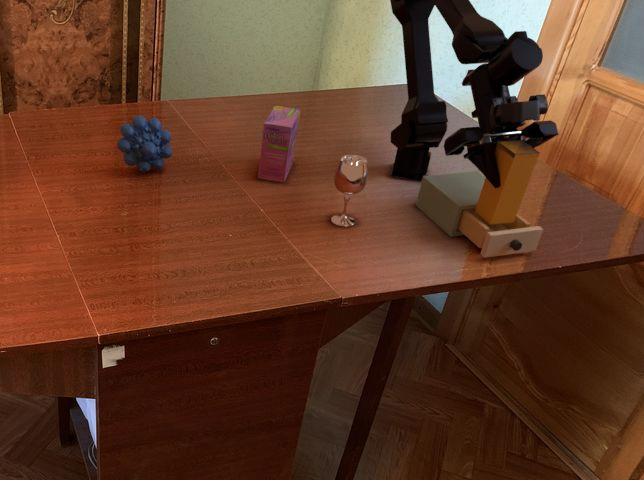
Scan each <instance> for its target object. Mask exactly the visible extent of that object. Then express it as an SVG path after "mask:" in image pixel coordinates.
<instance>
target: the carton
mask: <svg viewBox="0 0 644 480" xmlns="http://www.w3.org/2000/svg"><path fill="white" fill-rule="evenodd" d="M540 154H541V152H540V151H539V150H537V149H535V148H533V147H531V146H530V145H528V144H527V143H525V142H524V141H503V142H498V143H497V147H496V152H495V156H496V161H497V166H498V171H499V175H500V184H501V186H500V187H498V188H494V186H493V185H492V184H491V183H490V182H489V181H488V179H487V178H486V177H485V178H486V179H485V182H484V185H483V188H482V190H481V193H480V196H479V199H478V202H477V205H476V208H475V212H476V213H477V214H478V215H480V216H481V217H482V218H483V219H484V220H485V221H487V222H488V223H489V224H503V223H514V220H515V218H516V215H517V214H518V213H519V210H520V207H521V205H522V202H523V199H524V196H525V193H526V191H527V188H528V185H529V184H530V180H531V178H532V175H533V172H534V170H535V167H536V165H537V162H538V160H539V157H540Z"/></svg>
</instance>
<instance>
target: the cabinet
mask: <svg viewBox="0 0 644 480" xmlns="http://www.w3.org/2000/svg"><path fill="white" fill-rule="evenodd" d="M485 179H486V177H485V176H484V175H483V174H482V173H480V172H478V171H477V170H474V171H473V170H472V171H464V172H463V171H462V172H454V173H444V174H443V173H442V174H434V175H433V174H432V175H424V176H423V179H422V181H421V183H420V187H419V191H418V195H417V199H416V203H415V206H416V207H417V208H418V209H419V210H420V211H422V213H424V214H425V215H426V216H427V217H428V218H429V219H430V220H432V222H434V223H435V224H436V225H437V226H438V227H439V228H440V229H441V230H443V231H444V232H445V233H446V234H447V235H448V236H449V237H451V238H452V237H458V236H459V237H460V236H465V235H464V234H463V233H462V232H461V231H459V230H458V229H457V226H458V222H459V219H460V215H461V212H462V210H466V209H475V208H476V205H477V202H478V199H479V196H480V193H481V190H482V188H483V185H484V182H485Z"/></svg>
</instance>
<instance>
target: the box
mask: <svg viewBox="0 0 644 480" xmlns="http://www.w3.org/2000/svg"><path fill="white" fill-rule="evenodd" d="M300 116H301V109H300V108H294V107H287V106H282V105H281V106H279V105H273V107H272V108H271V110H270V111H269V113H268V116H267V117H266V119H265V121H264V123H263V129H262V138H261V145H260V146H261V149H260V155H259V162H258V173H257V179H258V180H264V181H269V182H275V183H281V184H285V181H286V180H287V177H288V176H289V173H290V170H291V168H292V166H293V164H294V158H295V150H296V144H297V137H298V136H297V135H298V129H299V122H300Z"/></svg>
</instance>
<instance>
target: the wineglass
mask: <svg viewBox="0 0 644 480" xmlns="http://www.w3.org/2000/svg"><path fill="white" fill-rule="evenodd" d="M368 167H369V166H368V159H367V158H365V157H364V156H361V155H357V154H345V155H342V156H341V157H340V158H339V161H338V162H337V165H336V169H335V171H334V176H333V177H334V178H333V182H334V186H335V188H336V190H338V192H340V193H342V194H344V195H345V196H344V197H343V202H344V205H343V206H344V207H343V211H342V214H335V215H332V216H331V218H330V221H331V222H332V223H333V224H334V225H336V226H339V227H351V226H353V225H355V224H356V219H355V218H354V217H352V216H350V215H348V214H347V208H348V204H349V202H350V199H351V195H356V194H359V193H360V192H362V191H363V190H364V189H365V187H366V185H367V182H368V173H369V169H368Z"/></svg>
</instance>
